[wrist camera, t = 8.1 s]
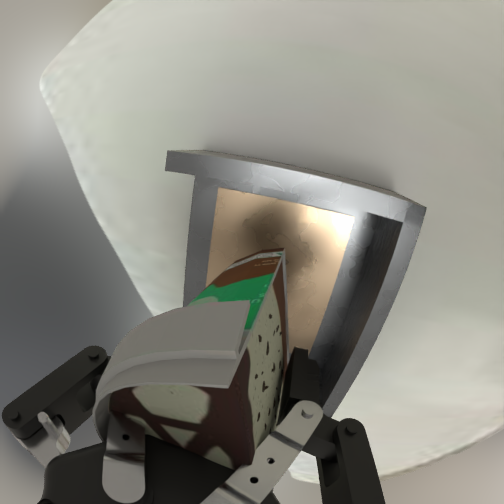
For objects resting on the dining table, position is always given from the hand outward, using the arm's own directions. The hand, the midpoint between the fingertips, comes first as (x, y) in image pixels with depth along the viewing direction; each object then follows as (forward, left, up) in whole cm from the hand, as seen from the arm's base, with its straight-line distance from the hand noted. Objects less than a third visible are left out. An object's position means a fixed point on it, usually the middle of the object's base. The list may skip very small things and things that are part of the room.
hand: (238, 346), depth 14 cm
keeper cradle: (-1, 0, -9) cm, 10 cm away
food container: (+1, 0, -2) cm, 2 cm away
